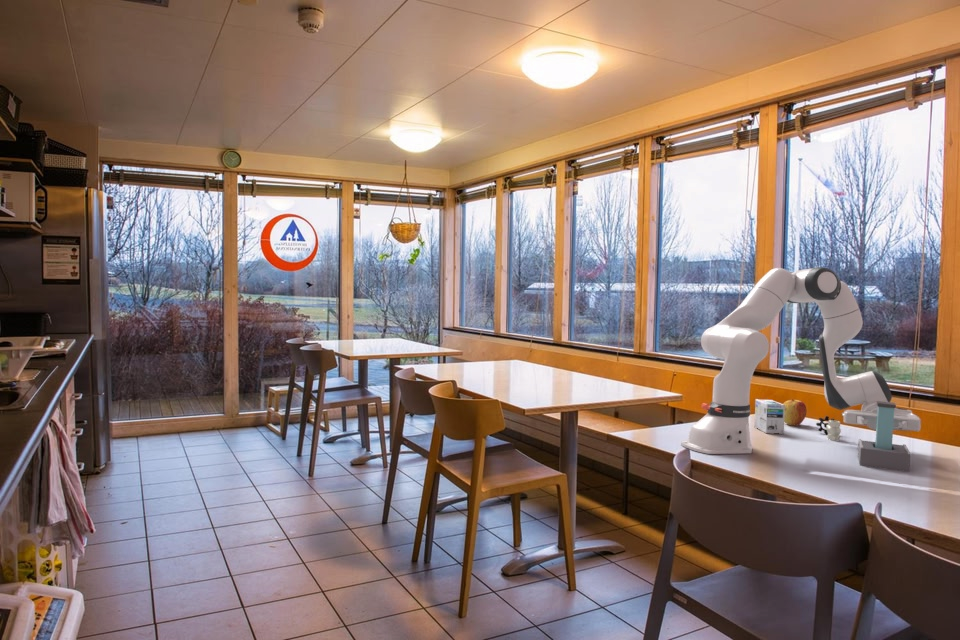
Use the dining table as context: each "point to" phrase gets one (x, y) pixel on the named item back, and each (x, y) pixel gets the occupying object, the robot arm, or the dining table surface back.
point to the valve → (830, 428)
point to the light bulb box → (769, 416)
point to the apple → (794, 412)
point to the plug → (884, 425)
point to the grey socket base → (884, 456)
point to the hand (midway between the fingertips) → (882, 424)
